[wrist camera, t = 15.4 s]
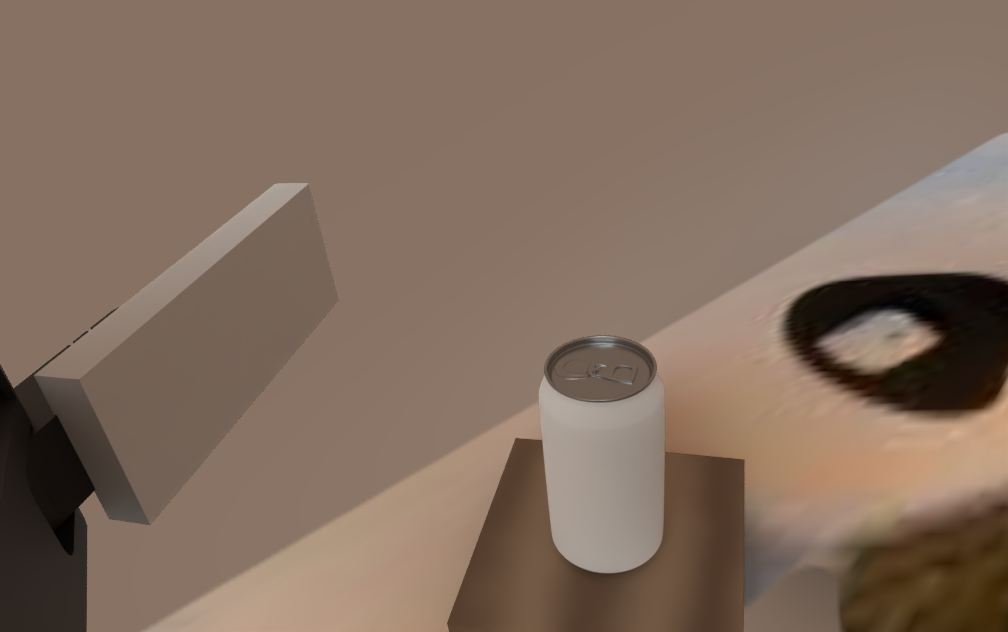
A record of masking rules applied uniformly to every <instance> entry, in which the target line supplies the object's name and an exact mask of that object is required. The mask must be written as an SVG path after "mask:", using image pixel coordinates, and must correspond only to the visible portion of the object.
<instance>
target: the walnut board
mask: <svg viewBox="0 0 1008 632" xmlns="http://www.w3.org/2000/svg"><path fill="white" fill-rule="evenodd" d="M743 623H744V460H742V459H732V458H721V457H711V456H700V455H689V454H679V453H668V452H665V469H664V525H663V537H662V541H661V544H660V546H659V548H658V550H657V551H656V553H655V554H654V555H653V556H652V557H651V558H650V559H649V560H648V561H646V562H645V563H643V564H642V565H640V566H638V567H636V568H634V569H632V570H629V571H626V572H621V573H615V574H602V573H595V572H591V571H588V570H585V569H583V568H581V567H578V566H576V565H574V564H573V563H571V562H570V561H568V560H567V559H566V558H565V557H564V556H563V555H562V554H561V553H560V552H559V551H558V549H557V548H556V546H555V544H554V541H553V538H552V532H551V524H550V515H549V505H548V495H547V485H546V475H545V464H544V454H543V443H542V441H541V440H531V439H520V438H516V439H515V442H514V444H513V447H512V450H511V453H510V455H509V458H508V461H507V463H506V466H505V469H504V471H503V474H502V477H501V480H500V482H499V485H498V488H497V490H496V493H495V496H494V498H493V501H492V504H491V506H490V509H489V512H488V515H487V517H486V520H485V523H484V525H483V528H482V531H481V533H480V536H479V539H478V542H477V544H476V547H475V550H474V552H473V555H472V558H471V560H470V563H469V566H468V569H467V571H466V574H465V577H464V579H463V582H462V585H461V587H460V590H459V593H458V596H457V598H456V601H455V604H454V606H453V609H452V612H451V614H450V617H449V620H448V622H447V624H448V628H449V632H743Z"/></svg>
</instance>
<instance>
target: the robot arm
mask: <svg viewBox="0 0 1008 632" xmlns="http://www.w3.org/2000/svg"><path fill="white" fill-rule="evenodd" d="M338 301H339V298H338V295H337V291H336V287H335V283H334V279H333V275H332V271H331V267H330V264H329V260H328V255H327V252H326V248H325V244H324V240H323V236H322V232H321V229H320V225H319V220H318V217H317V213H316V209H315V205H314V201H313V197H312V193H311V189H310V186H309V184H308V183H304V184H301V183H300V184H299V183H297V184H296V183H295V184H294V183H293V184H292V183H290V184H288V183H286V184H285V183H280V184H279V183H277V184H275V185H273V186H272V187H271V188H269V189H268V190H267V191H266V192H264V193H263V194H262V195H261V196H259V197H258V198H257V199H256V200H254V201H253V202H252V203H250V204H249V205H248V206H247V207H245V208H244V209H243V210H242V211H240V212H239V213H238V214H237V215H235V216H234V217H233V218H232V219H231V220H229V221H228V222H227V223H225V224H224V225H223V226H221V227H220V228H219V229H218V230H216V231H215V232H214V233H213V234H211V235H210V236H209V237H208V238H206V239H205V240H204V241H203V242H201V243H200V244H199V245H198V246H196V247H195V248H194V249H193V250H191V251H190V252H189V253H187V254H186V255H185V256H184V257H183V258H181V259H180V260H179V261H177V262H176V263H175V264H174V265H172V266H171V267H170V268H168V269H167V270H166V271H165V272H163V273H162V274H161V275H160V276H158V277H157V278H156V279H155V280H153V281H152V282H151V283H150V284H148V285H147V286H146V287H144V288H143V289H142V290H141V291H139V292H138V293H137V294H136V295H134V296H133V297H132V298H131V299H129V300H128V301H127V302H126V303H124V304H123V305H122V306H121V307H119V308H117V309H115V310H113V311H111V312H110V313H109V314H108V315H106V316H105V317H104V318H103V319H101V320H100V321H99V322H97V323H96V324H95V325H94V326H92V327H91V330H90V331H86V332H85V333H83V334H82V335H81V336H80V337H78V338H77V339H76V340H75V341H73V345H68V346H67V347H66V348H64V349H63V350H62V351H61V352H59V353H58V354H57V355H56V356H54V357H53V358H52V359H51V360H49V361H48V362H47V363H45V364H44V365H43V366H42V367H40V368H39V369H38V370H37V371H36V372H34V373H33V374H32V375H30V376H29V377H28V378H26V379H25V380H24V381H23V382H22V383H20V384H19V385H18V386H16V387H15V388H14V389H13V387H12V385H11V383H10V381H9V380H8V378H7V376H6V374H5V372H4V371H3V369H2V367H1V365H0V632H86V625H87V624H86V623H87V622H86V619H87V614H86V613H87V524H86V521H85V518H84V516H83V515H82V513H81V511H80V509H79V506H80V505H81V504H82V503H83V502H84V500H86V499H87V497H89V496H90V495H91V493H92V492H93V491H95V493H96V495H97V497H98V499H99V501H100V503H101V504H102V506H103V508H104V510H105V512H106V514H107V516H108V518H109V519H111V520H118V521H125V522H132V523H138V524H145V525H151V524H152V523H153V522H154V521H155V519H156V518H157V517H158V516H159V515H160V513H161V512H162V511H163V510H164V509H165V507H166V506H167V505H168V504H169V503H170V501H171V500H172V499H173V498H174V497H175V496H176V494H177V493H178V492H179V491H180V490H181V488H182V487H183V486H184V485H185V483H186V482H187V481H188V480H189V479H190V477H191V476H192V475H193V474H194V473H195V472H196V470H197V469H198V468H199V467H200V465H201V464H202V463H203V462H204V461H205V460H206V459H207V457H208V456H209V455H210V454H211V453H212V451H213V450H214V449H215V448H216V447H217V445H218V444H219V443H220V442H221V441H222V439H223V438H224V437H225V436H226V435H227V433H228V432H229V431H230V430H231V429H232V428H233V426H234V425H235V424H236V423H237V422H238V420H239V419H240V418H241V417H242V416H243V414H244V413H245V412H246V411H247V410H248V408H249V407H250V406H251V405H252V404H253V402H254V401H255V400H256V399H257V398H258V396H259V395H260V394H261V393H262V392H263V391H264V389H265V388H266V387H267V386H268V384H269V383H270V382H271V381H272V380H273V379H274V377H275V376H276V375H277V374H278V373H279V371H280V370H281V369H282V368H283V367H284V365H285V364H286V363H287V362H288V361H289V359H290V358H291V357H292V356H293V355H294V354H295V352H296V351H297V350H298V349H299V348H300V346H301V345H302V344H303V342H305V340H306V339H307V338H308V337H309V336H310V334H311V333H312V332H313V331H314V330H315V328H316V327H317V326H318V325H319V323H320V322H321V321H322V320H323V319H324V318H325V317H326V315H327V314H328V313H329V312H330V310H331V309H332V308H333V307H334V305H335V304H336V303H337V302H338Z"/></svg>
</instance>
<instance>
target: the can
mask: <svg viewBox="0 0 1008 632" xmlns="http://www.w3.org/2000/svg"><path fill="white" fill-rule="evenodd" d="M656 371H657V365H656V361H655V358H654V357H653V355H652V354H651V352H650V351H649V350H648V349H646V348H645V347H644V346H642V345H640V344H639V343H637V342H634V341H632V340H629V339H626V338H622V337H616V336H606V335H605V336H604V335H598V336H588V337H582V338H578V339H575V340H572V341H569V342H567V343H565V344H563V345H562V346H560V347H558V348H557V349H556V350H554V351H553V352H552V353H551V354H550V355H549V357H548V358H547V360H546V363H545V366H544V373H545V376H544V378H543V380H542V382H541V385H540V389H539V410H540V422H541V433H542V443H543V454H544V464H545V475H546V485H547V495H548V505H549V515H550V524H551V532H552V538H553V541H554V544H555V546H556V548H557V549H558V551H559V552H560V553H561V554H562V555H563V556H564V557H565V558H566V559H567V560H568V561H570V562H571V563H573V564H574V565H576V566H578V567H581V568H583V569H585V570H588V571H591V572H595V573H602V574H615V573H621V572H626V571H629V570H632V569H634V568H636V567H638V566H640V565H642V564H643V563H645V562H646V561H648V560H649V559H650V558H651V557H652V556H653V555H654V554H655V553H656V551H657V550H658V548H659V546H660V544H661V541H662V537H663V525H664V469H665V393H664V386H663V383H662V381H661V379H660V377H659V375H658V373H657V372H656Z"/></svg>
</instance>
